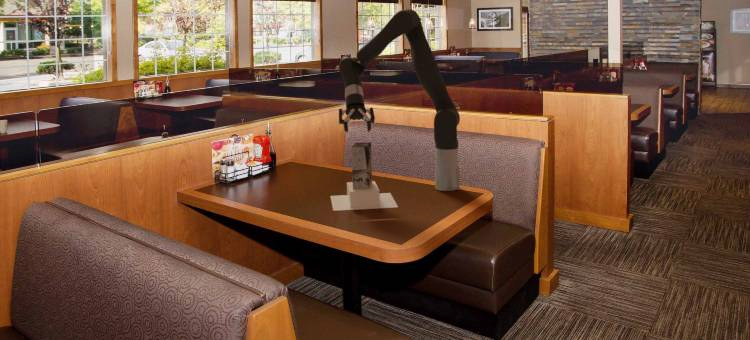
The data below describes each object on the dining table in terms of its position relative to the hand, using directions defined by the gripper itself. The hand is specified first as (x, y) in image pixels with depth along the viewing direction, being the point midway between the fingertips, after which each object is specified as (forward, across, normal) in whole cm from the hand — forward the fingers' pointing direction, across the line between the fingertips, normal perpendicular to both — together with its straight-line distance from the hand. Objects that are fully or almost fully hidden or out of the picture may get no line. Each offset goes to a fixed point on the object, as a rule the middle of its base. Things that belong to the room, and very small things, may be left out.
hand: (358, 130), depth 242 cm
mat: (+27, 0, +9) cm, 29 cm away
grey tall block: (+23, 0, +5) cm, 23 cm away
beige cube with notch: (+27, 0, +9) cm, 28 cm away
